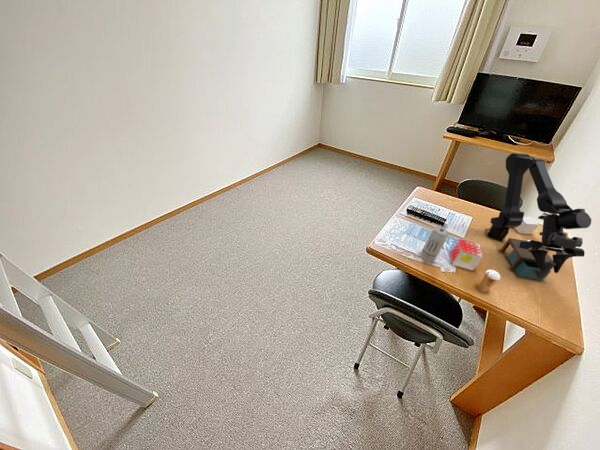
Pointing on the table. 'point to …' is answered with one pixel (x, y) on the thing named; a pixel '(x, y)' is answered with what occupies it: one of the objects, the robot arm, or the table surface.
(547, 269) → the drawer
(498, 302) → the table surface
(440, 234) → the energy drink can
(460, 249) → the red patterned cube box
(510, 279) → the table surface
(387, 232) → the table surface
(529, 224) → the white cube
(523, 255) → the brown drawer cabinet
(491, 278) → the milkshake
